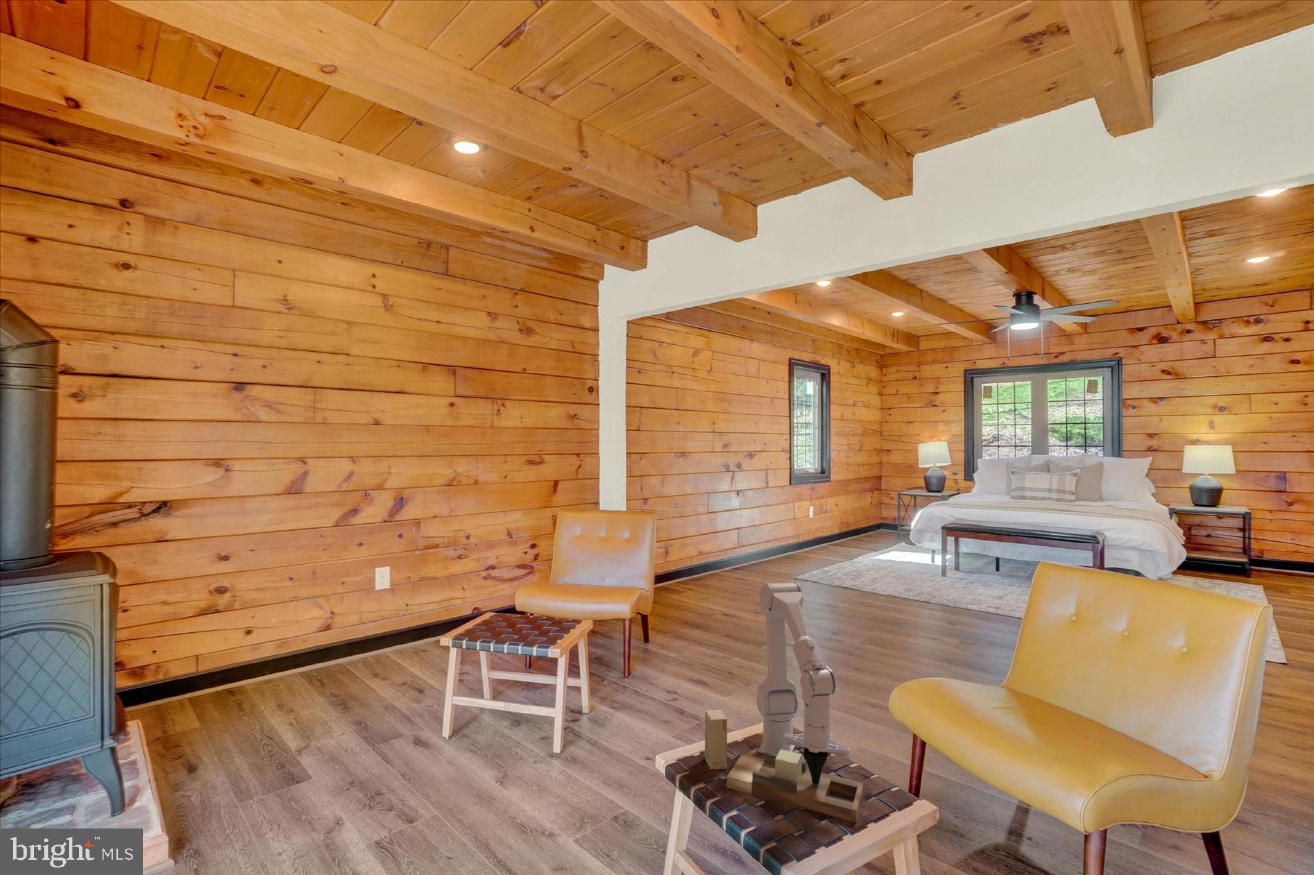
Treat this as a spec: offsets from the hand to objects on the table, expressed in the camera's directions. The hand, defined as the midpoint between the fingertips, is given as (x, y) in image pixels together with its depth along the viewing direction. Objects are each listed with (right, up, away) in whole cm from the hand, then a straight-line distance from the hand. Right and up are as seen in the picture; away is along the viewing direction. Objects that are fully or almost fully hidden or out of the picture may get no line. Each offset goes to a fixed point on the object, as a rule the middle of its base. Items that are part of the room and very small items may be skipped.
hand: (816, 781), depth 139 cm
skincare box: (-22, -3, +14) cm, 26 cm away
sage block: (-6, -1, +3) cm, 6 cm away
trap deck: (-4, -3, +2) cm, 6 cm away
